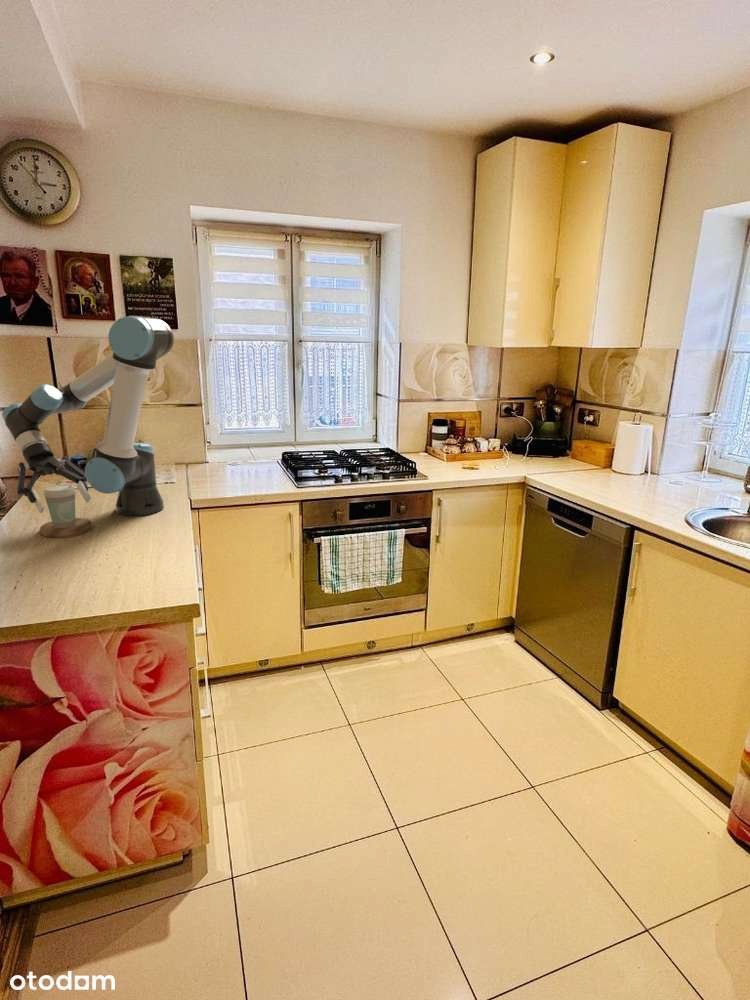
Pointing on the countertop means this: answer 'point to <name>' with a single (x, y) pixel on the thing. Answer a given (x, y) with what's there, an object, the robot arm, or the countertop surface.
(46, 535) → the walnut trivet
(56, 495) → the coffee cup
